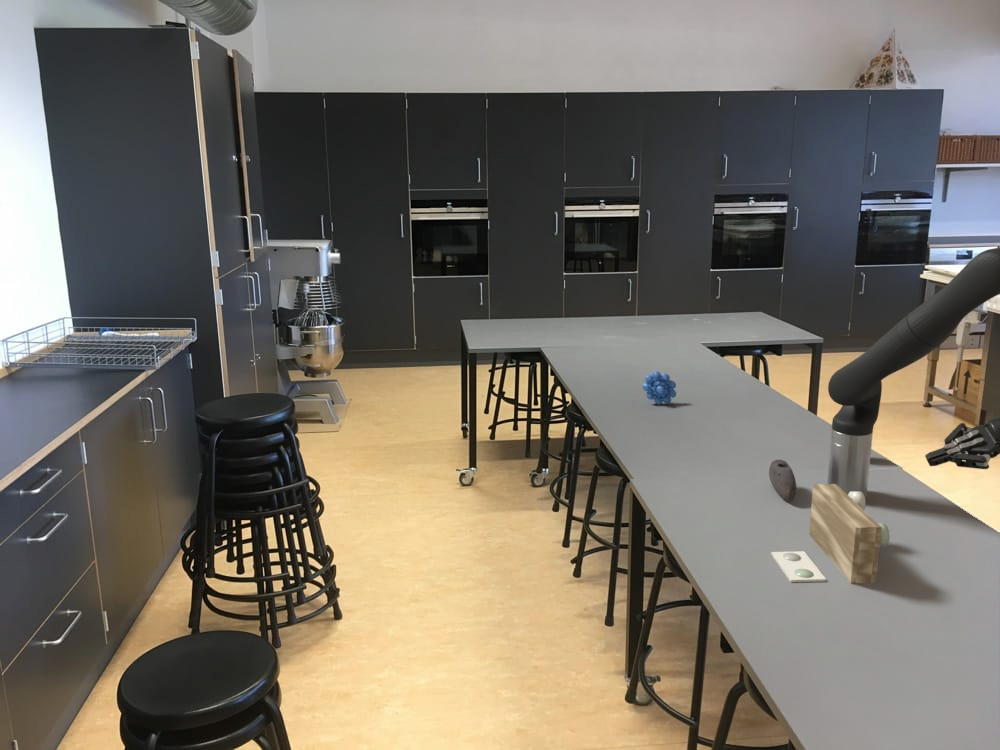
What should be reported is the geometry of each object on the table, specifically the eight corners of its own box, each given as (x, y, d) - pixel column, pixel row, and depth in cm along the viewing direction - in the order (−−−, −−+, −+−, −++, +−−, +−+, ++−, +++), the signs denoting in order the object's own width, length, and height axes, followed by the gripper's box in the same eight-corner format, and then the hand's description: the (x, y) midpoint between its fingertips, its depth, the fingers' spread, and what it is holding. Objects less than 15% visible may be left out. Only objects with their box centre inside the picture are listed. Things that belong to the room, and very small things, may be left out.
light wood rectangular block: (831, 533, 181) (835, 483, 178) (875, 582, 160) (881, 527, 157) (809, 534, 181) (813, 484, 178) (850, 583, 160) (855, 527, 157)
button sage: (878, 539, 163) (880, 519, 162) (888, 549, 159) (890, 528, 158) (849, 540, 163) (851, 519, 162) (859, 550, 159) (861, 529, 158)
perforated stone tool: (800, 506, 196) (802, 480, 194) (778, 506, 196) (780, 479, 195) (787, 483, 210) (789, 458, 208) (766, 482, 211) (768, 457, 209)
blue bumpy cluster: (643, 408, 277) (644, 374, 274) (641, 402, 284) (642, 369, 281) (678, 408, 276) (679, 374, 273) (675, 402, 283) (676, 369, 280)
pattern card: (771, 554, 173) (771, 551, 172) (803, 553, 172) (804, 550, 172) (790, 582, 161) (790, 579, 161) (825, 581, 161) (826, 578, 161)
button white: (855, 506, 179) (857, 488, 178) (864, 515, 174) (866, 496, 173) (830, 507, 179) (831, 488, 178) (838, 515, 174) (839, 496, 173)
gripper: (1001, 396, 160) (911, 428, 167) (1029, 435, 149) (931, 467, 156) (1012, 424, 163) (923, 454, 170) (1040, 464, 152) (943, 495, 159)
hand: (927, 460), depth 163 cm, fingers closed
